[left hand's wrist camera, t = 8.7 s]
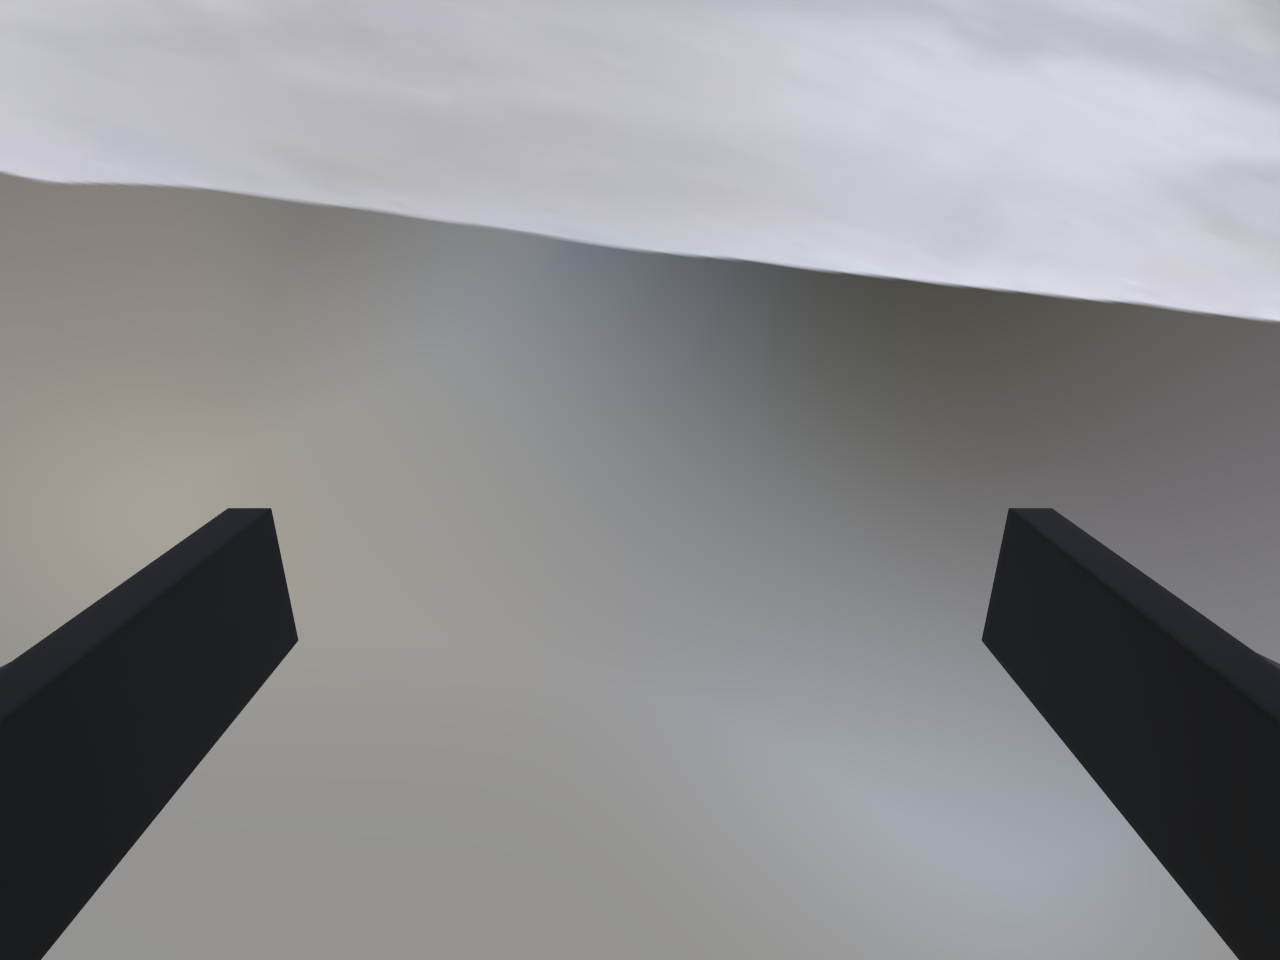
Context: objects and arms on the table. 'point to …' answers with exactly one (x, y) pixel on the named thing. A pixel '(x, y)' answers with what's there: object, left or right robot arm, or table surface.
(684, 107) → the table surface
